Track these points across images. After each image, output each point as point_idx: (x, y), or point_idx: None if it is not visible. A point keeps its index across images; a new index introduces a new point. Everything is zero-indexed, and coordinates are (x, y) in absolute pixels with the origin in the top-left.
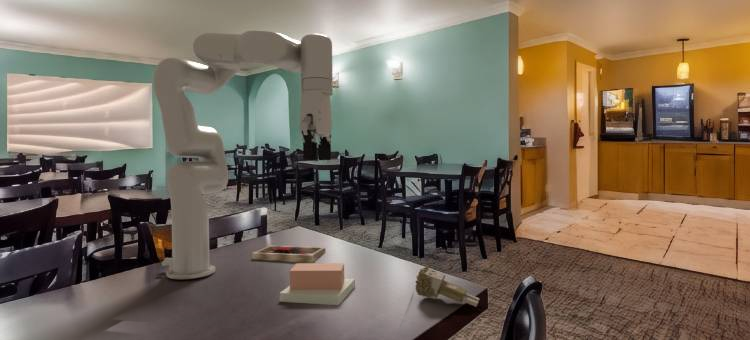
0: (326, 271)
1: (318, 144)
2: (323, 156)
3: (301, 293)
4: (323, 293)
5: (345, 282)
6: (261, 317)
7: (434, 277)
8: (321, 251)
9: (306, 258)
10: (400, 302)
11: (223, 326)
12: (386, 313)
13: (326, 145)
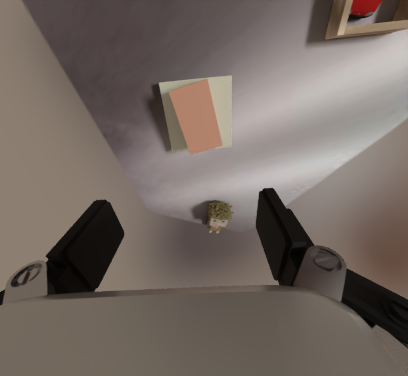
0: (185, 138)
1: (291, 243)
2: (261, 216)
3: (166, 111)
4: (174, 134)
5: None
6: (115, 90)
7: (210, 222)
8: (385, 30)
9: (337, 21)
10: (197, 191)
11: (77, 62)
12: (171, 188)
13: (276, 269)
